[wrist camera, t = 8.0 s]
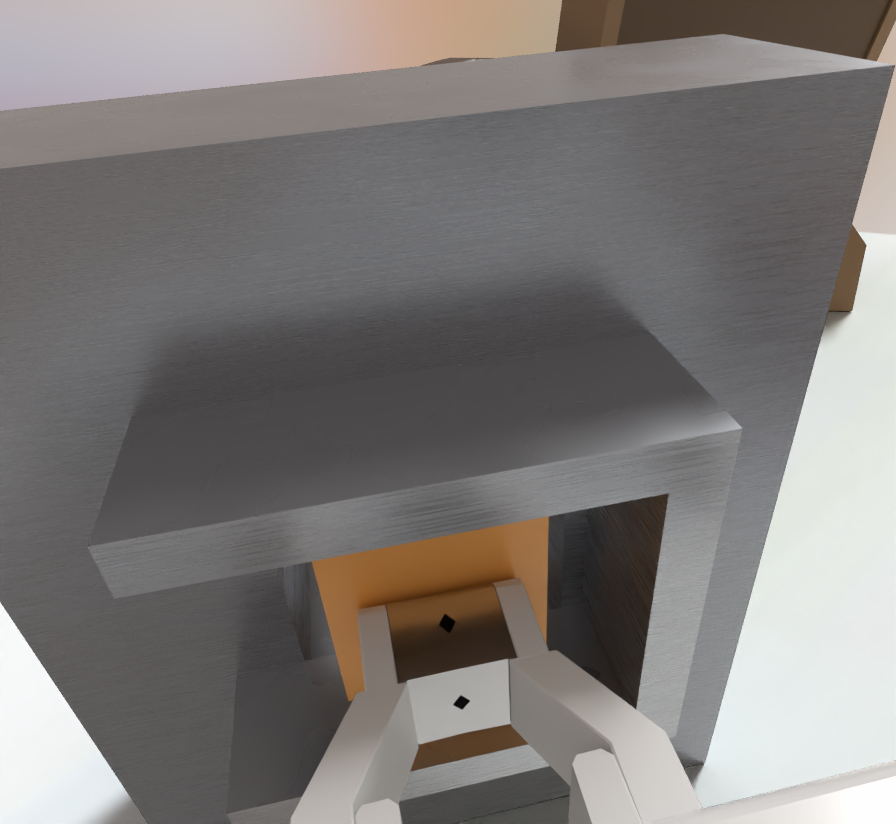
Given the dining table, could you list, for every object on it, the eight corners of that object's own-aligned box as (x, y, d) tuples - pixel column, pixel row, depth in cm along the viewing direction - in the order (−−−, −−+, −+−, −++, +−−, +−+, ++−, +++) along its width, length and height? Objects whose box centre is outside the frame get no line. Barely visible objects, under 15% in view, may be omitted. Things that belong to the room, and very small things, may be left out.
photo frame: (525, 285, 52) (527, -132, 38) (752, 229, 58) (828, -148, 44) (642, 377, 41) (708, -170, 26) (908, 296, 47) (1081, -183, 32)
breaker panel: (639, 634, 26) (723, 34, 14) (758, 864, 19) (1084, 98, 8) (207, 727, 24) (-87, 120, 13) (176, 1018, 17) (-496, 299, 6)
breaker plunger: (453, 405, 21) (444, 287, 19) (546, 658, 14) (548, 512, 11) (326, 426, 21) (301, 308, 19) (348, 700, 13) (310, 557, 11)
